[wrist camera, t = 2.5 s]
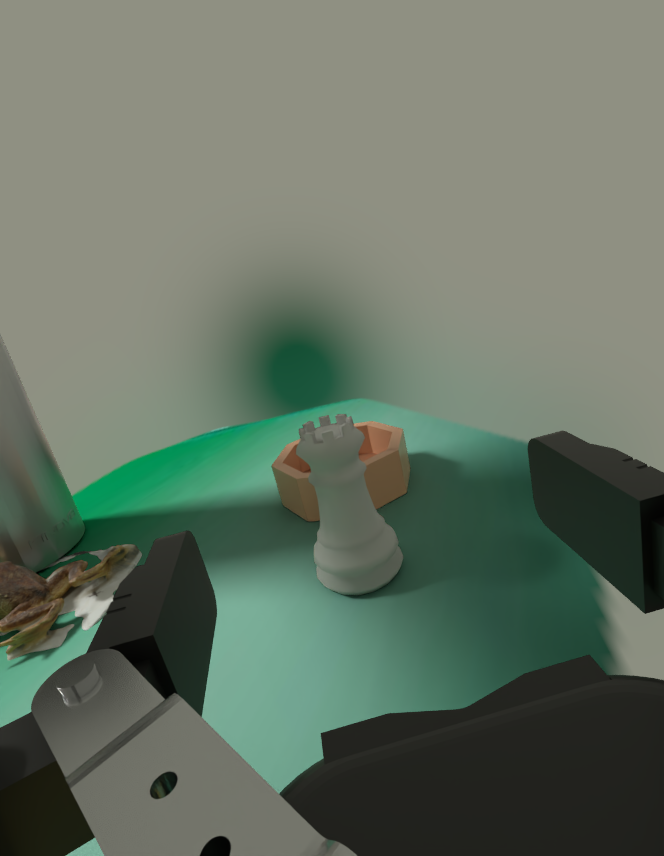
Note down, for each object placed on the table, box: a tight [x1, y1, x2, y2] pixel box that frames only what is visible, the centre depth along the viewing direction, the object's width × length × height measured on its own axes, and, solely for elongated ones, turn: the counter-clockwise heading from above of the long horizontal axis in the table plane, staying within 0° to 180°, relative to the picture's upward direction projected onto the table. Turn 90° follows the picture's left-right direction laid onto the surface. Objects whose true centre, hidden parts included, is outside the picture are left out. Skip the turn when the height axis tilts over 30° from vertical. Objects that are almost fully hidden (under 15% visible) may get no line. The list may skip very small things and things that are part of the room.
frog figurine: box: [0, 544, 142, 660], centre depth 29 cm, size 12×12×4 cm
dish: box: [272, 421, 411, 522], centre depth 34 cm, size 8×8×3 cm
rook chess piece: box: [296, 414, 403, 595], centre depth 24 cm, size 4×4×8 cm
